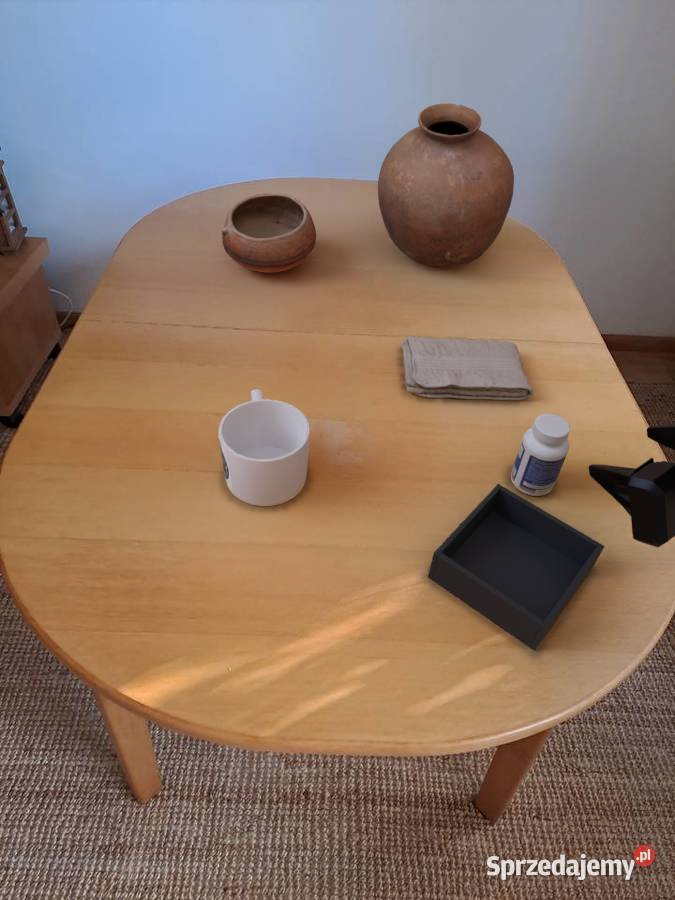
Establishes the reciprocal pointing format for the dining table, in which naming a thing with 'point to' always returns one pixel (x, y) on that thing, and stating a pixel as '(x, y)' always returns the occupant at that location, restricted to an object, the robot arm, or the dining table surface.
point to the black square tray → (515, 564)
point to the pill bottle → (541, 455)
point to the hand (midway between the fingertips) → (619, 450)
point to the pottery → (445, 188)
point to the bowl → (269, 232)
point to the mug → (264, 450)
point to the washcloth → (464, 369)
